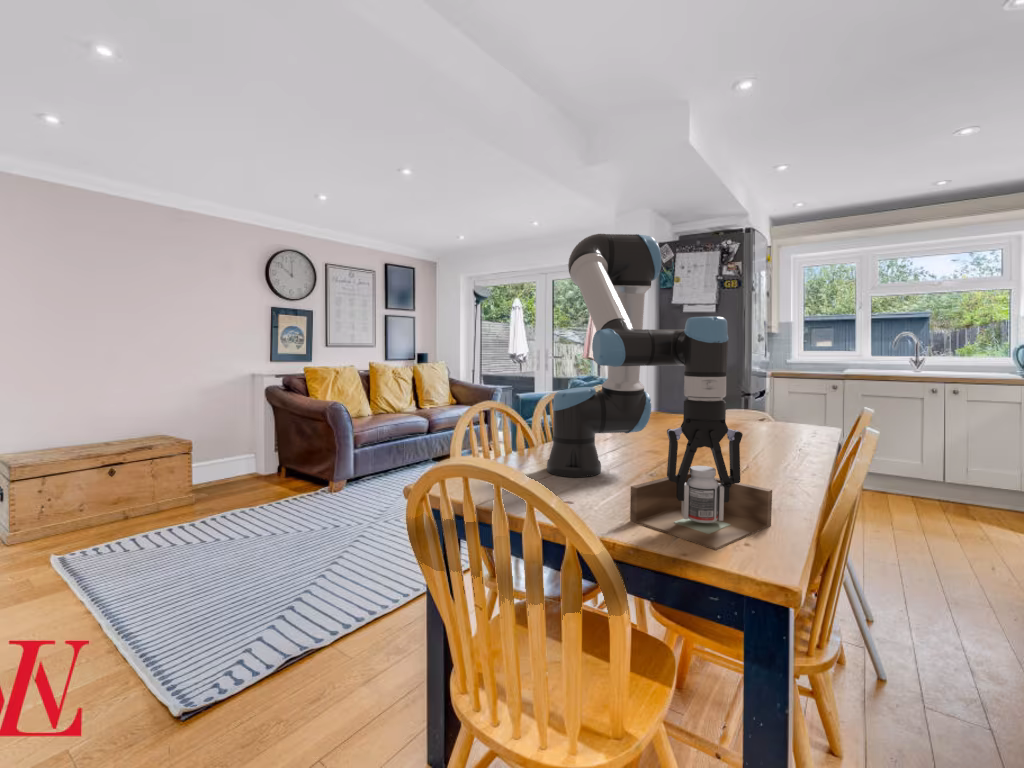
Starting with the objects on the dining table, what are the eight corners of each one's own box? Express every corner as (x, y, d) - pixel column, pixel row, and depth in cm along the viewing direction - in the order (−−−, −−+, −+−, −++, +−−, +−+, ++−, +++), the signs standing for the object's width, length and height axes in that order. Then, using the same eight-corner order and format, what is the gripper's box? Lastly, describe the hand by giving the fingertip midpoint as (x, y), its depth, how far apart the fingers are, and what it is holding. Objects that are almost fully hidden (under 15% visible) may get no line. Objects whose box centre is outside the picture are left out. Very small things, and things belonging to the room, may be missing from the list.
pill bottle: (696, 512, 101) (697, 463, 101) (723, 519, 97) (724, 468, 96) (680, 518, 98) (681, 467, 97) (707, 526, 93) (709, 473, 93)
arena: (630, 520, 101) (630, 486, 100) (687, 502, 113) (687, 471, 112) (716, 549, 86) (717, 509, 86) (771, 525, 98) (772, 489, 97)
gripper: (657, 400, 93) (655, 522, 95) (763, 401, 91) (759, 526, 93) (651, 396, 101) (649, 509, 102) (749, 397, 98) (746, 513, 100)
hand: (701, 517), depth 97 cm, fingers closed on pill bottle, 6 cm apart
